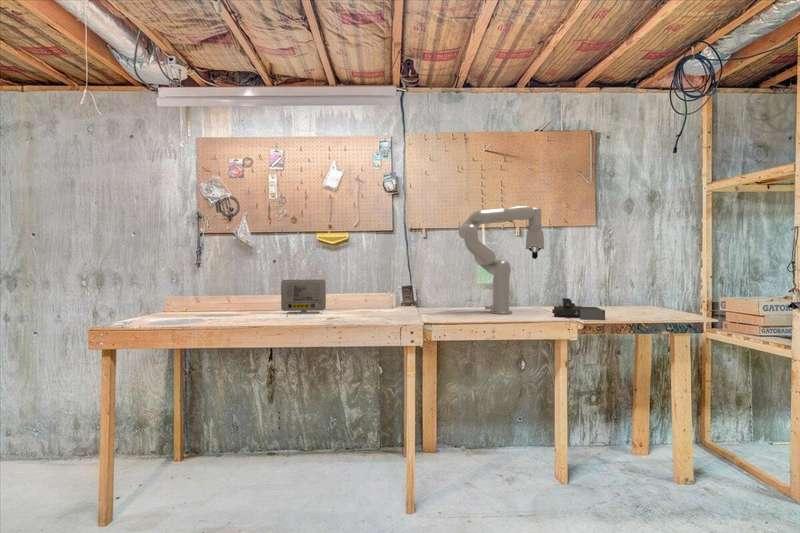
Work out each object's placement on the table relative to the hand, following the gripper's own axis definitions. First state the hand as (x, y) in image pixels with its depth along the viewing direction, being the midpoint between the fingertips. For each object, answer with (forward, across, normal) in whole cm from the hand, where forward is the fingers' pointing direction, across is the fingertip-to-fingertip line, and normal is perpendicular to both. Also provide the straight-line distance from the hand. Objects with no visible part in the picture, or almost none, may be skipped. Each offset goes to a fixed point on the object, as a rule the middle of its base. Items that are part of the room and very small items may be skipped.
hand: (534, 258), depth 249 cm
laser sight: (+33, +19, -19) cm, 42 cm away
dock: (+32, +26, -19) cm, 46 cm away
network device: (+32, -135, -32) cm, 142 cm away
